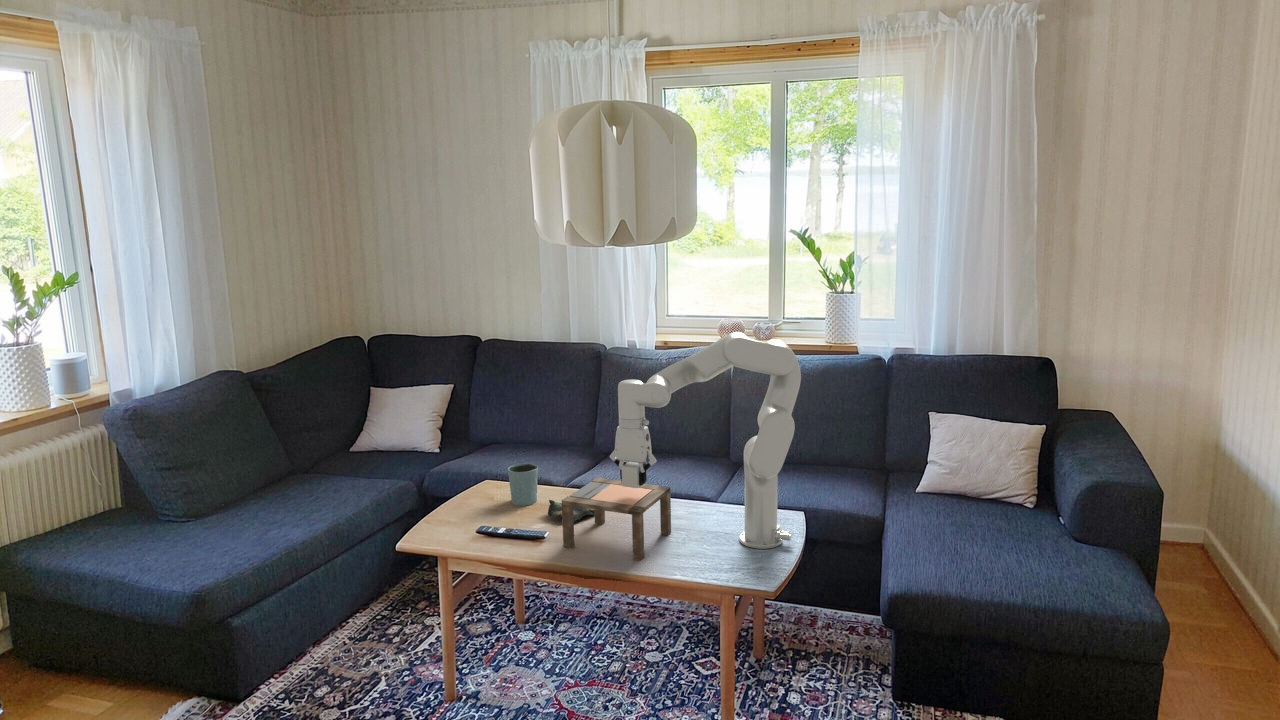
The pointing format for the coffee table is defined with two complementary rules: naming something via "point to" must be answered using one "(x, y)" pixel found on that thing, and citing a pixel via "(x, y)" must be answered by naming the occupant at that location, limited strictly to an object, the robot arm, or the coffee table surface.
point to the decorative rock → (556, 510)
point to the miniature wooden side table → (636, 512)
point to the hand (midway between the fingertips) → (633, 482)
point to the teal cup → (523, 484)
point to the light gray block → (630, 475)
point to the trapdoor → (610, 494)
